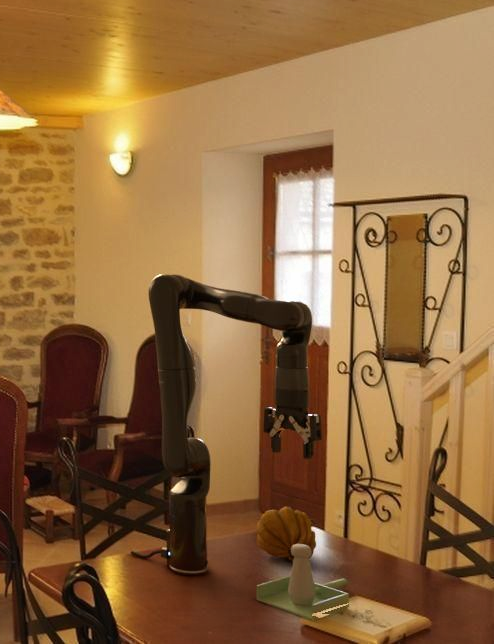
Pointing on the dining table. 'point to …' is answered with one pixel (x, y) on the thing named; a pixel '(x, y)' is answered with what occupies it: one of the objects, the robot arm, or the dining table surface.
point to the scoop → (325, 598)
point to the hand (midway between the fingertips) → (292, 455)
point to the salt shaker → (301, 576)
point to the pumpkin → (284, 532)
